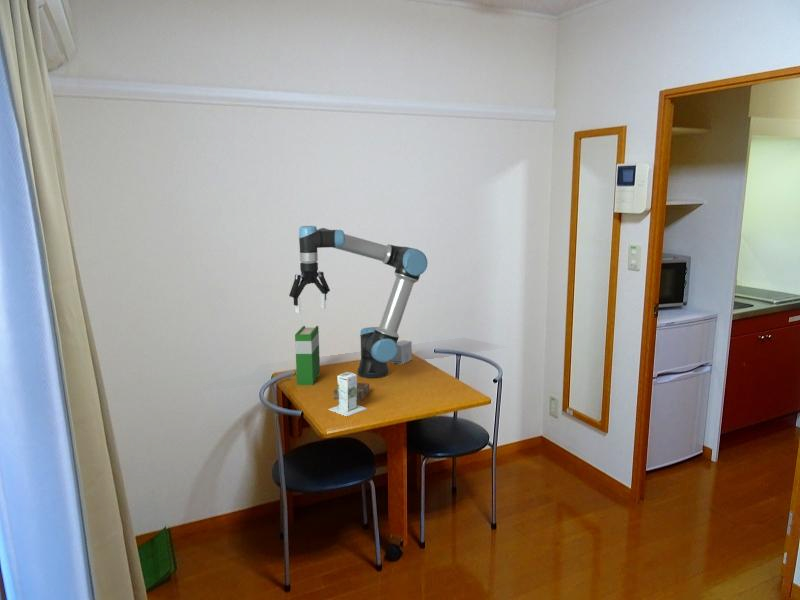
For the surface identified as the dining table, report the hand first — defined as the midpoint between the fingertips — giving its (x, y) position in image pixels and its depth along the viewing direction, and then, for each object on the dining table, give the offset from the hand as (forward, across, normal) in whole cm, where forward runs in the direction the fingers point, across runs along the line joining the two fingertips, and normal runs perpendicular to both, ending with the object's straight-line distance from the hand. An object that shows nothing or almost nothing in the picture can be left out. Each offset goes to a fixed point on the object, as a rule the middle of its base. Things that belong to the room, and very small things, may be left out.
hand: (310, 310), depth 250 cm
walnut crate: (+37, -7, +18) cm, 41 cm away
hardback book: (+37, -8, -15) cm, 41 cm away
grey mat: (+37, +5, +29) cm, 47 cm away
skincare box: (+37, -59, -1) cm, 69 cm away
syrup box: (+36, +5, +29) cm, 47 cm away
